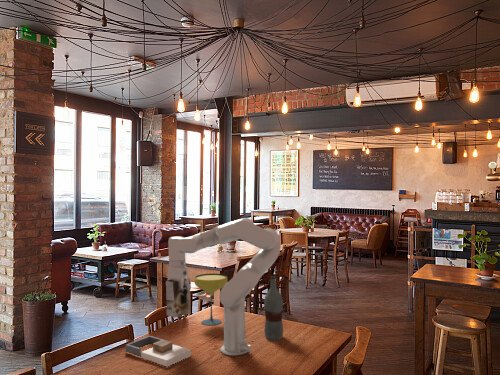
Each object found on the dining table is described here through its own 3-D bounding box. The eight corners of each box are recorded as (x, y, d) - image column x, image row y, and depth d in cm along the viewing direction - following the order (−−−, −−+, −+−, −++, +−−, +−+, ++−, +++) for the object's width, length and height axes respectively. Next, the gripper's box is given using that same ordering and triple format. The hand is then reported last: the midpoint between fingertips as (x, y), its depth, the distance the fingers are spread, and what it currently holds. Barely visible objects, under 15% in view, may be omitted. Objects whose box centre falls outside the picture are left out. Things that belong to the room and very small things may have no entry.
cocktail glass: (234, 320, 235) (233, 275, 235) (215, 329, 220) (214, 281, 220) (207, 315, 245) (207, 272, 245) (188, 324, 229) (187, 278, 229)
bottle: (262, 340, 204) (262, 278, 204) (266, 333, 213) (265, 274, 213) (281, 341, 202) (281, 278, 202) (284, 335, 211) (284, 275, 211)
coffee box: (175, 318, 190) (174, 282, 190) (166, 315, 194) (165, 280, 194) (190, 313, 197) (189, 278, 197) (181, 310, 201) (181, 277, 201)
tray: (164, 348, 195) (164, 339, 195) (140, 358, 183) (140, 349, 183) (149, 344, 201) (149, 335, 201) (125, 353, 189) (125, 344, 189)
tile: (172, 349, 186) (172, 342, 186) (162, 353, 181) (162, 346, 181) (163, 346, 190) (162, 339, 190) (152, 350, 185) (152, 343, 185)
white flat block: (190, 356, 185) (190, 349, 185) (167, 367, 174) (166, 360, 174) (165, 348, 195) (164, 342, 195) (141, 358, 183) (140, 351, 183)
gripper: (196, 263, 193) (197, 303, 193) (170, 260, 204) (171, 297, 204) (184, 266, 187) (185, 306, 187) (158, 263, 198) (159, 301, 198)
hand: (178, 301), depth 195 cm, fingers closed on coffee box, 6 cm apart
